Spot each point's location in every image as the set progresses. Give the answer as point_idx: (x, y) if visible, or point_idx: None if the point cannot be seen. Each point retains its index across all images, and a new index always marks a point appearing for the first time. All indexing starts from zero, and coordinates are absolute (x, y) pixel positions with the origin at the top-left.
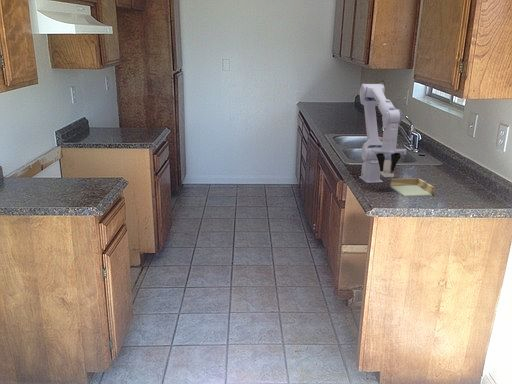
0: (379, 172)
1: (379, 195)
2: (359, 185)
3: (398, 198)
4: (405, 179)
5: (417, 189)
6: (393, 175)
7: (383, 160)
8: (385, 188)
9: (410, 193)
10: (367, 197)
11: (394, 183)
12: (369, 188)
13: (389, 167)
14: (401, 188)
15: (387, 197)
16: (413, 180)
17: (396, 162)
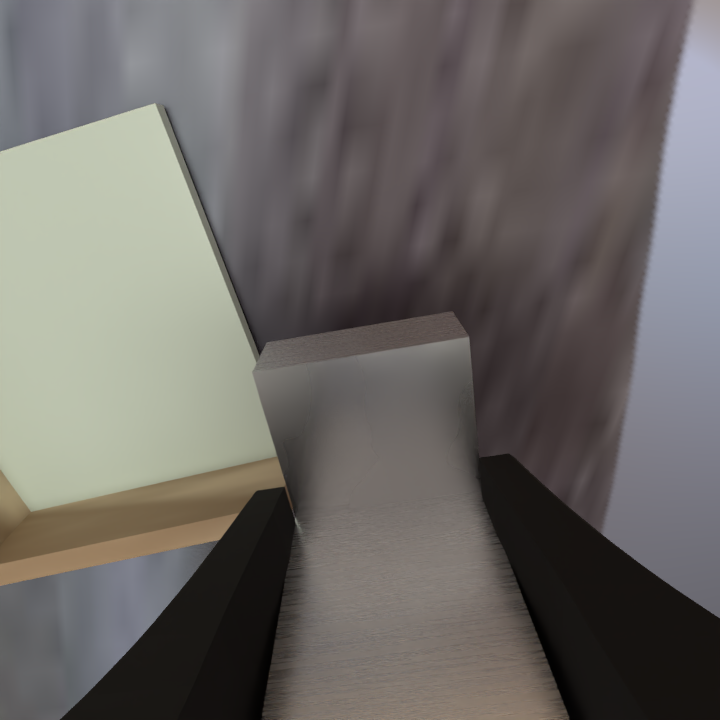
0: None
1: (472, 154)
2: (590, 480)
3: (246, 45)
4: (116, 537)
5: (10, 381)
6: (271, 352)
7: (691, 708)
8: None
9: (80, 212)
10: (660, 32)
11: (252, 479)
12: (518, 403)
13: (334, 575)
14: (185, 394)
15: (387, 74)
16: (34, 544)
17: (115, 684)
